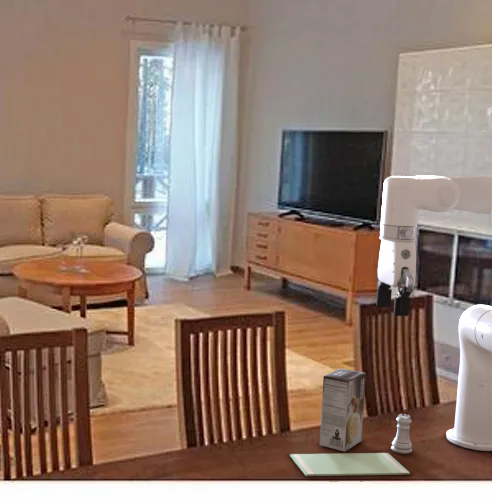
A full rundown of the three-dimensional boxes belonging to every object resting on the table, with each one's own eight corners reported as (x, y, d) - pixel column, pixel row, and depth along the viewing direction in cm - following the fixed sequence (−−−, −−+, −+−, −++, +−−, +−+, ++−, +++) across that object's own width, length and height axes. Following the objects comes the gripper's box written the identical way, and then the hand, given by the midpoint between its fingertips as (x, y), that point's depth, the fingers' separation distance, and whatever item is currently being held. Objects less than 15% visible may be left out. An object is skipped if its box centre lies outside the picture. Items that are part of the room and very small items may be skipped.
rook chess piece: (387, 447, 187) (390, 412, 186) (407, 447, 188) (409, 412, 187) (395, 454, 183) (398, 419, 182) (415, 454, 183) (418, 419, 182)
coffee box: (335, 434, 194) (340, 367, 192) (362, 441, 191) (367, 372, 188) (318, 445, 187) (322, 375, 185) (345, 452, 183) (350, 381, 181)
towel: (387, 454, 183) (388, 452, 183) (409, 474, 172) (410, 472, 172) (289, 455, 180) (289, 454, 180) (305, 476, 169) (306, 474, 169)
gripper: (432, 238, 174) (425, 319, 176) (398, 229, 191) (392, 303, 193) (397, 237, 173) (391, 319, 175) (366, 228, 190) (361, 303, 193)
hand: (391, 311), depth 184 cm, fingers open, 9 cm apart
